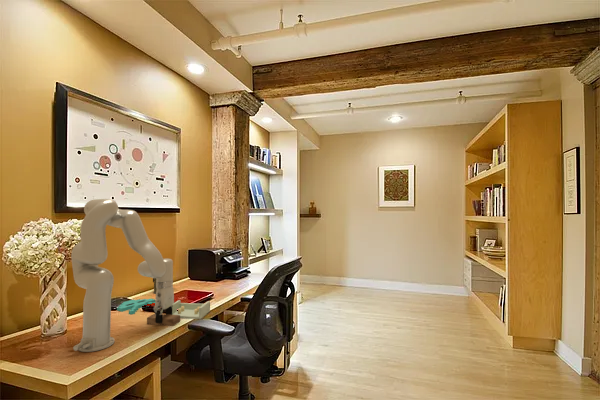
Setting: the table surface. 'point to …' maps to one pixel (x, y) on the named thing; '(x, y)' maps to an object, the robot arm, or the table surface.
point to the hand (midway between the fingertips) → (164, 319)
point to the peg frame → (190, 310)
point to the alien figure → (134, 305)
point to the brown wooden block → (164, 320)
